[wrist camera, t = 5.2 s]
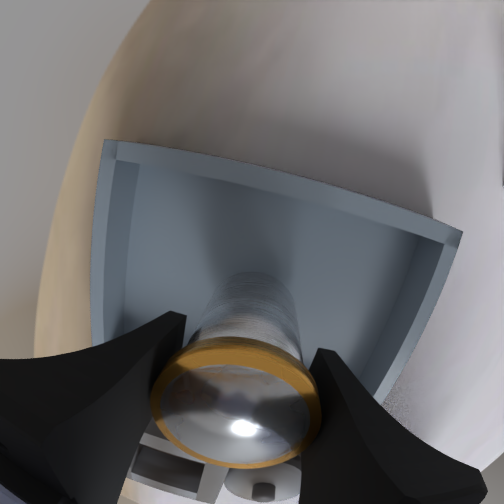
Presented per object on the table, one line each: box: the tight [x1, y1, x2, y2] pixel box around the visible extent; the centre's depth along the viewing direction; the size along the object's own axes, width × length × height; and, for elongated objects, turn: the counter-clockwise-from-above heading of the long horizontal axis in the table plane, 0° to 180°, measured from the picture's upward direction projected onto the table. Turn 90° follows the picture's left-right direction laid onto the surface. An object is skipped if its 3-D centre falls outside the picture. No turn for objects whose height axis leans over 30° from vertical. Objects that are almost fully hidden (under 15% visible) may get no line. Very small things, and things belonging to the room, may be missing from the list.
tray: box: [90, 139, 463, 405], centre depth 14 cm, size 16×12×3 cm
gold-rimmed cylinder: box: [150, 271, 322, 469], centre depth 10 cm, size 5×5×7 cm
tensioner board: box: [126, 417, 301, 504], centre depth 17 cm, size 16×10×4 cm, turn 77°
